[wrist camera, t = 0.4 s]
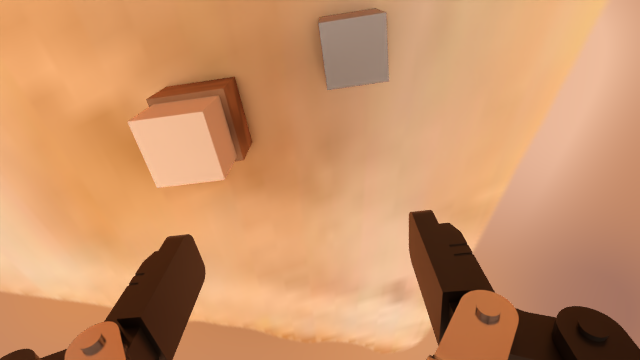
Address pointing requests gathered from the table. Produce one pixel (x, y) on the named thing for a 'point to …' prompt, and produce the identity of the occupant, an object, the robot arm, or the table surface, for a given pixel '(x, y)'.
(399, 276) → the table surface
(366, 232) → the table surface
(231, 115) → the tower base
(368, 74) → the slate block
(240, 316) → the table surface
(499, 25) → the table surface
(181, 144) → the tower top
